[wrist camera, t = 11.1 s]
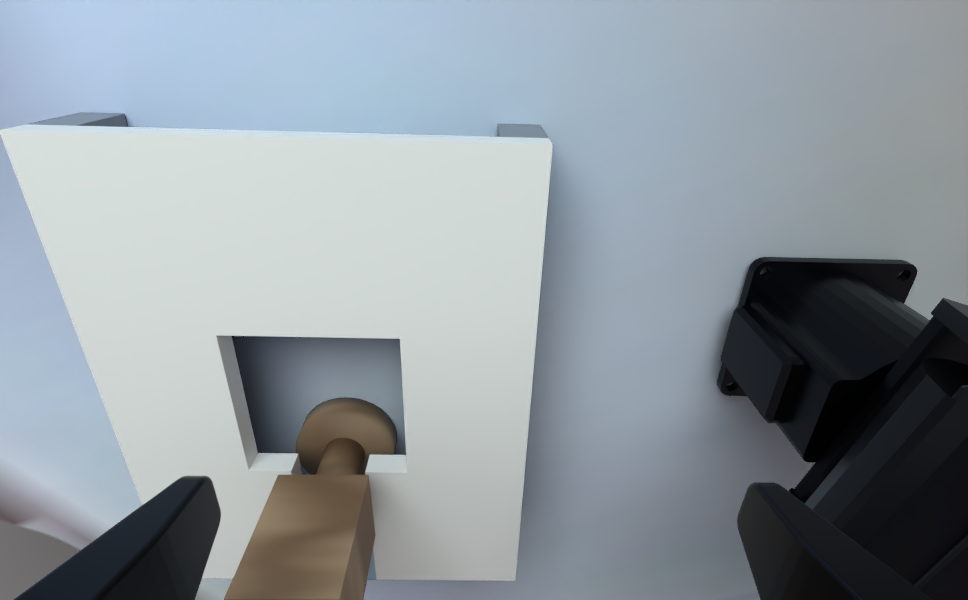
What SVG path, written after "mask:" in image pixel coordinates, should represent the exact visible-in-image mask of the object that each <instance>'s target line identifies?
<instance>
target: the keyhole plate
mask: <svg viewBox="0 0 968 600" xmlns="http://www.w3.org/2000/svg"><path fill="white" fill-rule="evenodd" d="M0 135H1V137H2V140H3V143H4V145H5V148H6V150H7V153H8V156H9V158H10V161H11V163H12V166H13V169H14V171H15V174H16V176H17V179H18V182H19V184H20V187H21V190H22V192H23V195H24V197H25V200H26V203H27V205H28V208H29V210H30V213H31V216H32V218H33V221H34V223H35V226H36V229H37V231H38V234H39V237H40V239H41V242H42V244H43V247H44V250H45V252H46V255H47V257H48V260H49V263H50V265H51V268H52V270H53V273H54V276H55V278H56V281H57V284H58V286H59V289H60V291H61V294H62V297H63V299H64V302H65V304H66V307H67V310H68V312H69V315H70V317H71V320H72V323H73V325H74V328H75V331H76V333H77V336H78V338H79V341H80V344H81V346H82V349H83V351H84V354H85V357H86V359H87V362H88V364H89V367H90V370H91V372H92V375H93V378H94V380H95V383H96V385H97V388H98V391H99V393H100V396H101V398H102V401H103V404H104V406H105V409H106V411H107V414H108V417H109V419H110V422H111V425H112V427H113V430H114V432H115V435H116V438H117V440H118V443H119V445H120V448H121V451H122V453H123V456H124V458H125V461H126V464H127V466H128V469H129V472H130V474H131V477H132V479H133V482H134V485H135V487H136V490H137V492H138V495H139V498H140V500H141V503H142V505H143V504H145V503H146V502H147V501H149V500H150V499H152V498H153V497H154V496H156V495H157V494H158V493H160V492H161V491H162V490H164V489H165V488H167V487H168V486H169V485H171V484H172V483H173V482H175V481H176V480H178V479H179V478H181V477H183V476H208V477H209V478H210V479H211V480H212V482H213V485H214V489H215V492H216V496H217V499H218V503H219V506H220V510H221V520H220V525H219V528H218V531H217V534H216V537H215V540H214V543H213V546H212V549H211V552H210V555H209V558H208V561H207V564H206V567H205V570H204V573H203V576H202V578H233V577H234V575H235V573H236V570H237V568H238V566H239V564H240V561H241V559H242V557H243V554H244V552H245V550H246V547H247V545H248V543H249V541H250V538H251V536H252V534H253V531H254V529H255V527H256V525H257V522H258V520H259V518H260V515H261V513H262V511H263V508H264V506H265V504H266V502H267V499H268V497H269V495H270V492H271V490H272V488H273V486H274V483H275V481H276V479H277V476H278V475H302V470H301V465H300V459H299V454H293V453H258V451H257V447H256V442H255V438H254V433H253V429H252V425H251V420H250V416H249V411H248V407H247V402H246V398H245V394H244V389H243V385H242V380H241V376H240V371H239V367H238V363H237V358H236V354H235V349H234V345H233V340H232V336H274V337H329V338H385V339H400V351H401V369H402V388H403V406H404V424H405V443H406V455H369V459H368V463H367V467H366V471H365V475H369V482H370V491H371V500H372V509H373V518H374V527H375V535H376V536H375V541H374V546H373V551H372V556H371V561H370V567H369V572H368V577H367V580H477V581H515V580H516V569H517V557H518V545H519V534H520V522H521V510H522V498H523V487H524V475H525V463H526V452H527V440H528V428H529V417H530V405H531V393H532V381H533V370H534V358H535V346H536V335H537V323H538V311H539V299H540V288H541V276H542V264H543V253H544V241H545V229H546V218H547V206H548V194H549V182H550V171H551V159H552V147H553V144H552V143H551V141H550V139H549V138H548V136H547V135H546V133H545V132H544V130H543V128H542V127H541V125H523V124H498V133H497V137H485V136H448V135H410V134H372V133H334V132H296V131H258V130H220V129H182V128H144V127H128V126H127V122H126V118H125V115H124V114H114V113H76V114H71V115H67V116H62V117H57V118H53V119H48V120H43V121H39V122H34V123H29V124H25V125H20V126H15V127H11V128H6V129H1V130H0Z"/></svg>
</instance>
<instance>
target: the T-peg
mask: <svg viewBox="0 0 968 600" xmlns="http://www.w3.org/2000/svg"><path fill="white" fill-rule="evenodd" d="M396 441H397V432H396V428H395V425H394V423H393V422H392V420H391V419H390V417H389V416H388V415H387V414H386V413H385V412H384V411H383V410H382V409H380V408H379V407H377V406H375V405H374V404H372V403H369V402H367V401H364V400H360V399H355V398H336V399H331V400H328V401H325V402H323V403H321V404H319V405H317V406H316V407H315V408H314V409H313V410H312V411H311V412H310V413H309V414H308V416H307V417H306V420H305V422H304V424H303V427H302V429H301V431H300V434H299V436H298V438H297V442H296V453H297V454H299V459H300V463H301V465H302V466H303V467H304V469H305V470H306V471H307V472H308V473H310V474H311V475H278V476H277V479H276V481H275V483H274V486H273V488H272V490H271V492H270V495H269V497H268V499H267V502H266V504H265V506H264V508H263V511H262V513H261V515H260V518H259V520H258V522H257V525H256V527H255V529H254V531H253V534H252V536H251V538H250V541H249V543H248V545H247V547H246V550H245V552H244V554H243V557H242V559H241V561H240V564H239V566H238V568H237V570H236V573H235V575H234V577H233V580H232V582H231V584H230V586H229V589H228V591H227V593H226V596H225V598H224V600H363V598H364V592H365V587H366V582H367V577H368V572H369V567H370V561H371V556H372V551H373V546H374V541H375V536H376V535H375V527H374V518H373V509H372V500H371V491H370V482H369V475H365V471H366V467H367V463H368V459H369V455H394V452H395V447H396Z"/></svg>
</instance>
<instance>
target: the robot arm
mask: <svg viewBox="0 0 968 600" xmlns="http://www.w3.org/2000/svg"><path fill="white" fill-rule="evenodd" d="M765 267H768V270H767V271H766V272H765V273H764V274H760V272H761V270H762V269H763V268H765ZM901 271H903V272H902V274H901V275H900V276H898V277H897V275H898V274H899V273H900V272H901ZM916 275H917V269H916V267H915V266H914V265H912V264H910V263H909V262H907V261H903V260H875V259H829V258H783V257H762V258H759V259H757V260H755V261H754V262H753V263H752V264H751V266H750V268H749V271H748V274H747V278H746V281H745V285H744V288H743V292H742V295H741V299H740V302H739V306H738V307H737V308H736V309H735V310H734V313H733V316H732V320H731V323H730V327H729V330H728V334H727V338H726V341H725V345H724V348H723V352H722V355H721V361H722V366H721V370H720V373H719V377H718V380H717V385H718V387H719V389H720V390H721V392H722V393H723V394H725V395H729V396H748V398H749V399H750V400H751V402H752V403H753V404H754V406H755V407H756V409H757V410H758V411H759V413H760V414H761V415H762V417H763V418H764V419H765V420H766V421H767V422H768V423H776V424H777V425H778V426H779V428H780V429H781V430H782V432H783V433H784V434H785V436H786V437H787V438H788V440H789V441H790V442H791V444H792V445H793V446H794V447H795V449H796V450H797V451H798V453H799V454H800V455H801V457H802V458H803V459H804V460H805V461H806V462H816V463H815V464H814V465H813V466H812V468H811V469H810V470H809V471H808V473H807V474H806V475H805V476H804V478H803V479H802V480H801V481H800V483H799V484H798V485H797V486H796V487H795V489H793V488H791V489H790V490H789V491H787V490H786V489H784V488H783V487H782V486H780V485H778V484H776V483H752V484H751V485H750V486H749V487H748V489H747V492H746V494H745V497H744V500H743V503H742V506H741V508H740V511H739V514H738V520H737V522H738V530H739V533H740V536H741V540H742V543H743V546H744V549H745V552H746V555H747V558H748V562H749V565H750V568H751V571H752V574H753V577H754V580H755V584H756V587H757V590H758V593H759V596H760V599H761V600H968V306H967V305H964V304H961V303H958V302H955V301H952V300H949V299H945V298H943V299H942V300H941V301H940V302H939V304H938V305H937V306H936V307H935V309H934V310H933V311H932V312H931V314H932V315H933V317H932V319H931V320H928V319H927V318H925V317H924V316H922V315H921V314H919V313H917V312H916V311H914V310H913V309H911V308H910V307H908V306H907V305H905V304H904V302H905V300H906V298H907V296H908V293H909V291H910V289H911V287H912V284H913V282H914V280H915V278H916ZM730 382H733V384H731V385H728V384H729V383H730ZM727 385H728V386H727ZM220 520H221V510H220V506H219V503H218V499H217V496H216V492H215V489H214V485H213V482H212V480H211V479H210V478H209V477H208V476H183V477H181V478H179V479H178V480H176V481H175V482H173V483H172V484H171V485H169V486H168V487H167V488H165V489H164V490H162V491H161V492H160V493H158V494H157V495H156V496H154V497H153V498H152V499H150V500H149V501H147V502H146V503H145V504H143V505H142V506H141V507H139V508H138V509H137V510H135V511H134V512H132V513H131V514H130V515H128V516H127V517H126V518H124V519H123V520H122V521H120V522H119V523H117V524H116V525H115V526H113V527H112V528H111V529H109V530H108V531H107V532H105V533H104V534H102V535H101V536H100V537H98V538H97V539H96V540H94V541H93V542H92V543H90V544H89V545H87V546H86V547H85V548H83V549H82V550H81V551H79V552H78V553H77V554H75V555H74V556H72V557H71V558H70V559H68V560H67V561H66V562H65V563H63V564H62V565H60V566H59V567H57V568H56V569H55V570H53V571H52V572H51V573H49V574H48V575H47V576H45V577H44V578H43V579H41V580H40V581H38V582H37V583H36V584H34V585H33V586H32V587H30V588H29V589H28V590H26V591H25V592H23V593H22V594H21V595H19V596H18V597H17V598H15V599H14V600H195V597H196V594H197V591H198V588H199V585H200V582H201V579H202V576H203V573H204V570H205V567H206V564H207V561H208V558H209V555H210V552H211V549H212V546H213V543H214V540H215V537H216V534H217V531H218V528H219V525H220Z"/></svg>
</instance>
